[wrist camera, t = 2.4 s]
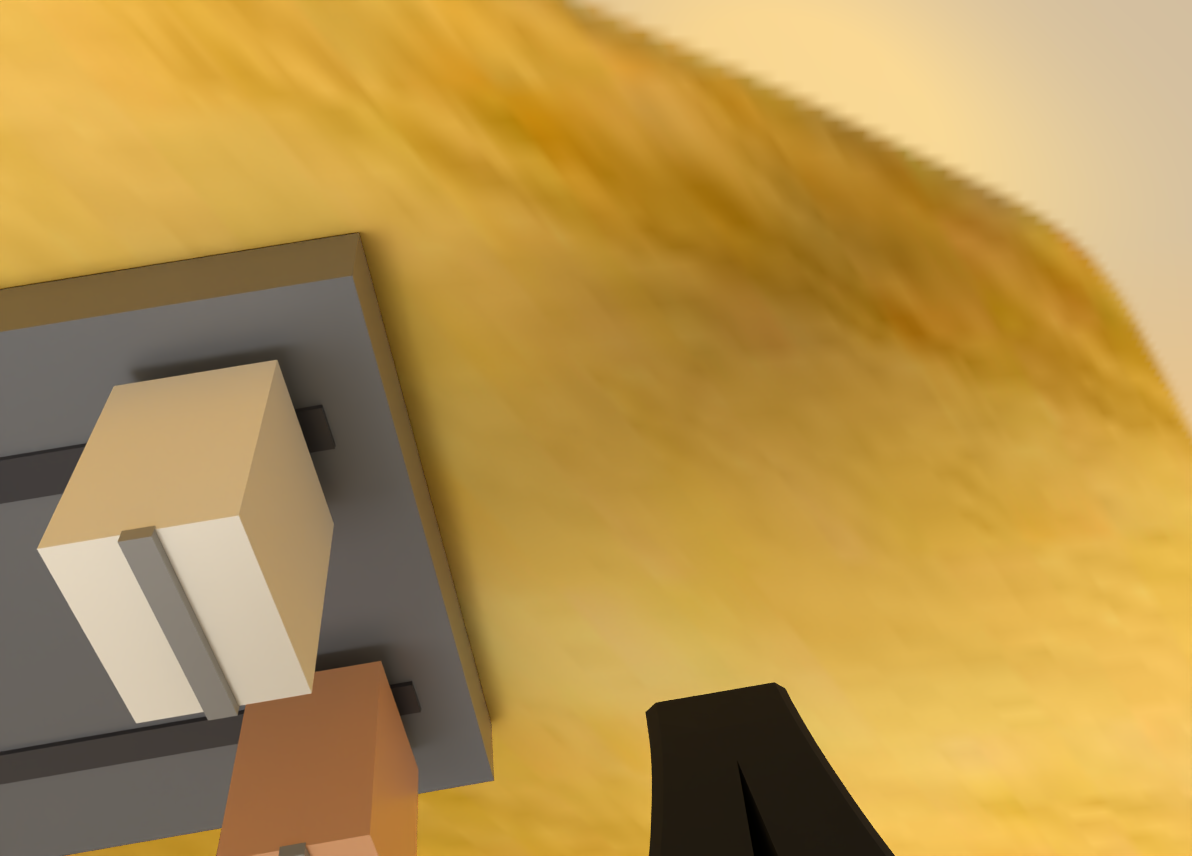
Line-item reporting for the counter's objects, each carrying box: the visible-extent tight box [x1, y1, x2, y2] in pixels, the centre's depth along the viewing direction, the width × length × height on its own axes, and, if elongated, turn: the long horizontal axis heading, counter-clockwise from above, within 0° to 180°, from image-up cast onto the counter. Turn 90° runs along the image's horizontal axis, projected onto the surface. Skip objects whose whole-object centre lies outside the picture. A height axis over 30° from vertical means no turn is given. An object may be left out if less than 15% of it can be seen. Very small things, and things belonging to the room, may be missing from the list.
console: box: [0, 233, 494, 856], centre depth 19 cm, size 15×12×2 cm
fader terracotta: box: [216, 661, 418, 856], centre depth 19 cm, size 2×3×4 cm
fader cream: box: [37, 360, 334, 723], centre depth 15 cm, size 2×3×4 cm
